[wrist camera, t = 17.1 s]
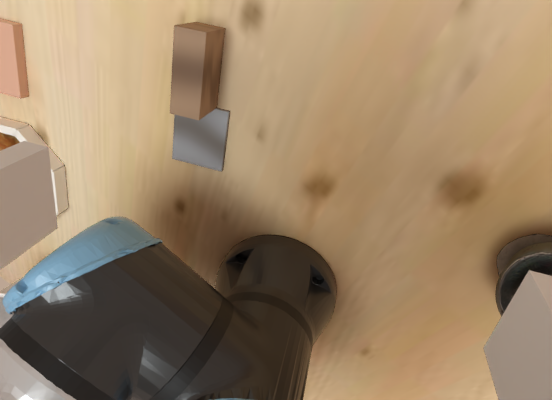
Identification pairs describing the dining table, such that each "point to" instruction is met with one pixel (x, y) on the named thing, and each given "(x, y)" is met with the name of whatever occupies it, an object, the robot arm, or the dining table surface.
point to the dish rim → (57, 169)
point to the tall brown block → (198, 95)
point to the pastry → (7, 141)
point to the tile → (12, 60)
